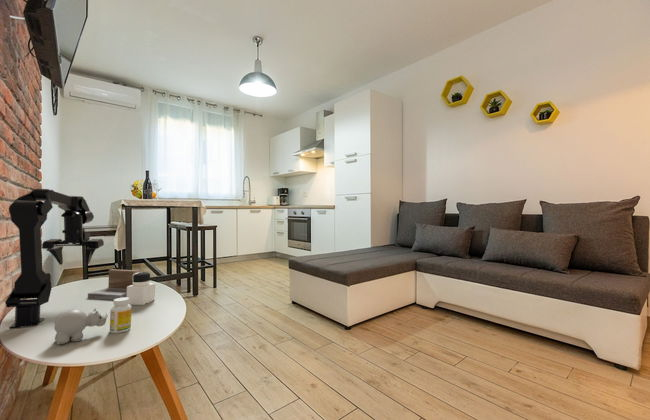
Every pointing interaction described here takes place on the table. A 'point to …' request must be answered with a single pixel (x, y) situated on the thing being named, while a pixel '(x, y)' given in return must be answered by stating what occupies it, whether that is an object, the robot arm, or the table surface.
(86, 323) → the round bodied animal figurine
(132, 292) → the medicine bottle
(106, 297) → the wall board
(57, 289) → the table surface
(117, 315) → the supplement bottle
